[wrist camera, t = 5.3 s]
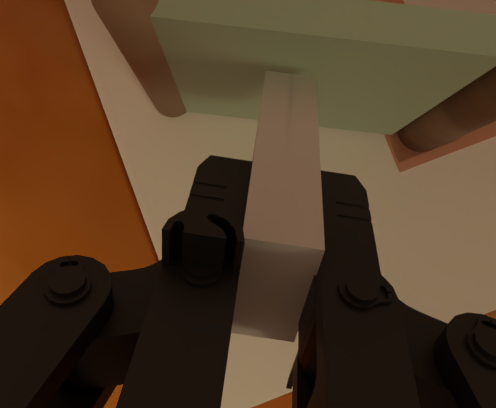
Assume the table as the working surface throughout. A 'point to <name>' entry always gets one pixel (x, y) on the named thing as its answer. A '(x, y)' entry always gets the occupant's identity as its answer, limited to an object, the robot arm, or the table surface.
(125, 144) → the card
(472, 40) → the fence gate
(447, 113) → the fence fixed
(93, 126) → the table surface
